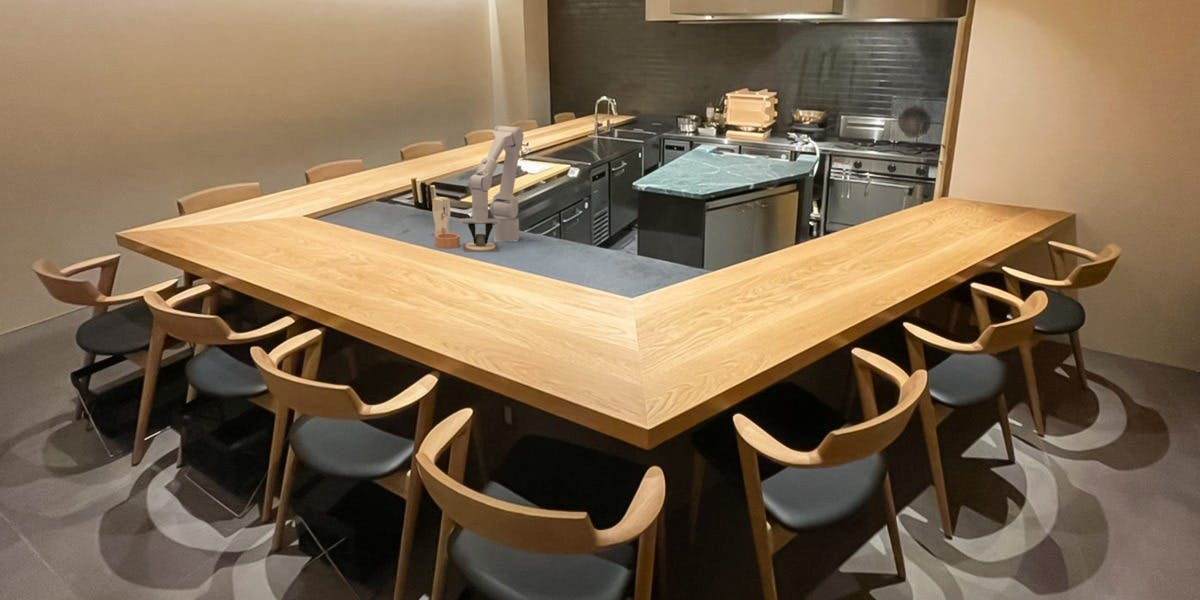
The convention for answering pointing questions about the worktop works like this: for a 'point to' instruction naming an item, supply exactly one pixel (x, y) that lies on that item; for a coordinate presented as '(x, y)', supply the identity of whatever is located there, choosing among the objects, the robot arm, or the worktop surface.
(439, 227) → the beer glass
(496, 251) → the mat
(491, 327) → the worktop surface
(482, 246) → the lid
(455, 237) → the bowl
